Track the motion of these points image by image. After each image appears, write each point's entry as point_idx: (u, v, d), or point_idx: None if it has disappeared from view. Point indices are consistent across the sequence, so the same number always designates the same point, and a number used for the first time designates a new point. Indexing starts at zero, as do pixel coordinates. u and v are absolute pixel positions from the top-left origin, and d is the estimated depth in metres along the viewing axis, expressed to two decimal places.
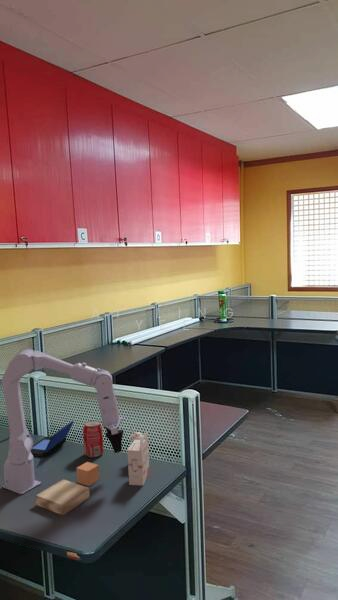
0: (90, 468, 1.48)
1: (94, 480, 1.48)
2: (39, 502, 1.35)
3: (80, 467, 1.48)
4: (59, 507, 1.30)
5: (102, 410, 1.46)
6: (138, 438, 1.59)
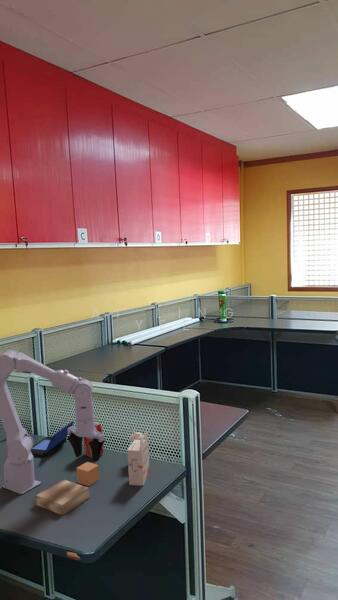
0: (90, 468, 1.47)
1: (94, 480, 1.48)
2: (39, 502, 1.35)
3: (80, 467, 1.48)
4: (59, 507, 1.30)
5: (78, 419, 1.45)
6: (138, 438, 1.59)
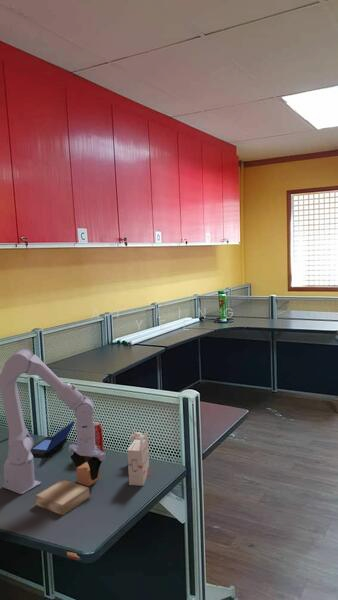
0: None
1: (94, 480, 1.48)
2: (39, 502, 1.35)
3: (80, 467, 1.48)
4: (59, 507, 1.30)
5: (79, 438, 1.46)
6: (138, 438, 1.59)
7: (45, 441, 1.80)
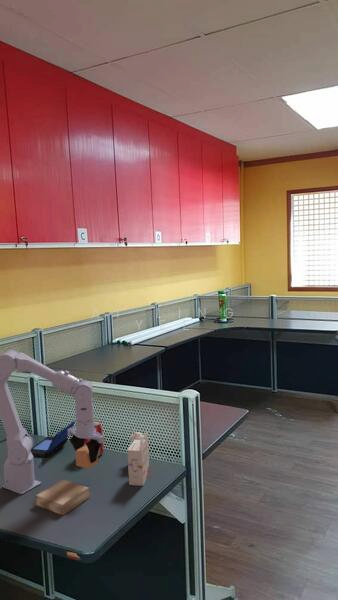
0: None
1: (93, 463, 1.48)
2: (39, 502, 1.35)
3: (79, 450, 1.48)
4: (59, 507, 1.30)
5: (78, 421, 1.45)
6: (138, 438, 1.59)
7: (45, 441, 1.80)
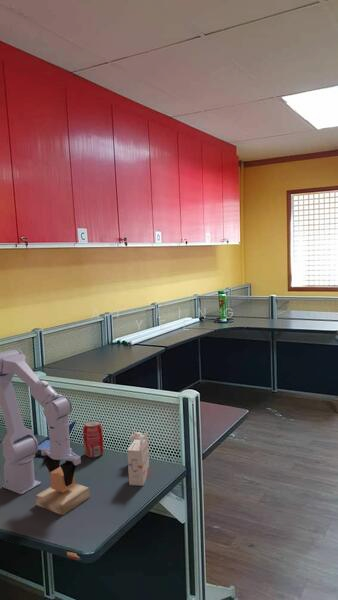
0: None
1: (69, 485, 1.36)
2: (39, 502, 1.35)
3: (54, 471, 1.36)
4: (59, 507, 1.30)
5: None
6: (138, 438, 1.59)
7: (46, 441, 1.80)
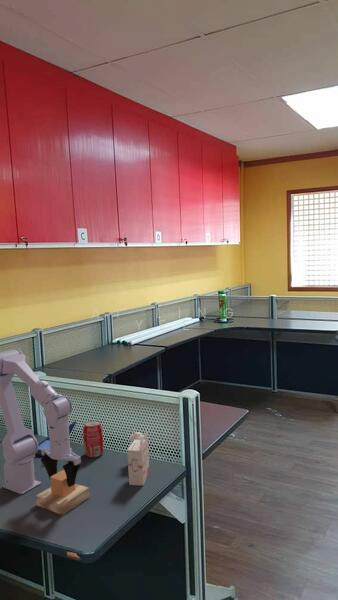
0: (65, 477, 1.35)
1: (69, 490, 1.36)
2: (39, 502, 1.35)
3: (54, 476, 1.36)
4: (59, 507, 1.30)
5: None
6: (138, 438, 1.59)
7: (47, 441, 1.80)
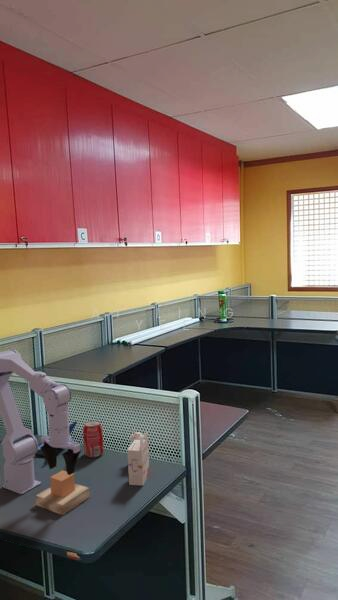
0: (64, 477, 1.35)
1: (69, 490, 1.36)
2: (39, 502, 1.35)
3: (54, 476, 1.36)
4: (59, 507, 1.30)
5: (49, 426, 1.35)
6: (138, 438, 1.59)
7: None
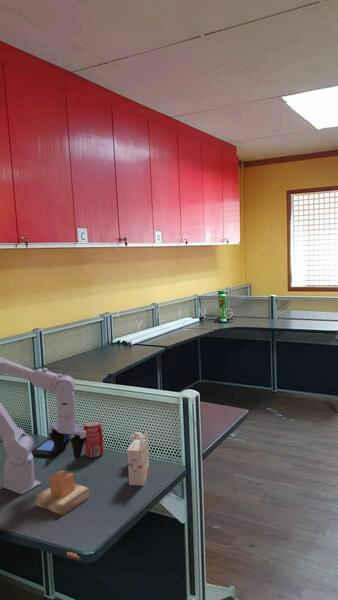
0: (64, 477, 1.35)
1: (69, 490, 1.36)
2: (39, 502, 1.35)
3: (53, 476, 1.36)
4: (59, 507, 1.30)
5: (59, 416, 1.44)
6: (138, 438, 1.59)
7: (48, 442, 1.79)
